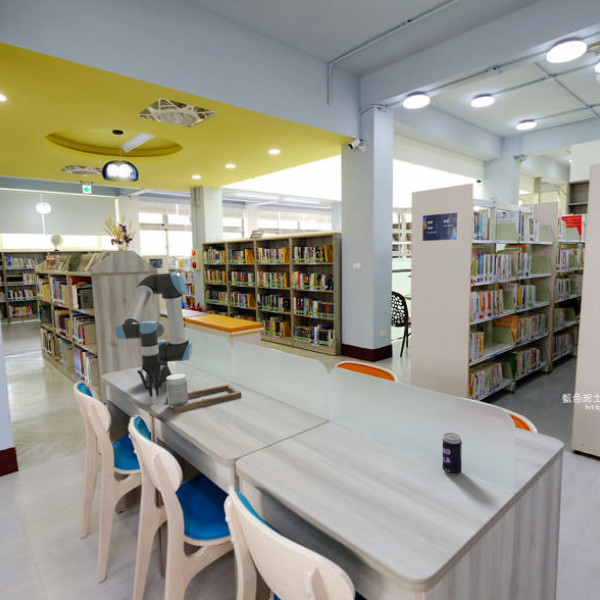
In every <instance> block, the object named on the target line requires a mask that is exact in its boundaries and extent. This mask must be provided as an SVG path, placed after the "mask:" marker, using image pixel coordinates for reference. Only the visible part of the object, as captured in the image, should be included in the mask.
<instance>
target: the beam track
mask: <svg viewBox="0 0 600 600" xmlns="http://www.w3.org/2000/svg"><path fill="white" fill-rule="evenodd" d="M224 391H228V392H230V393H227V394H222V395H218V396H212V397H210V396H209V397H204V398H202V399H199V400H196V401H192V402H191V401H190V402H188V403H187V404H183V403H182V404H180V405H178V406H173V408H172V409H173V410H172V411H173V413H180V412H183V411H188V410H193V409H195V408H201V407H205V406H209V405H213V404H217V403H222V402H225V401H231V400H234V399H239V398H241V397H242V396H243V395H242V392H241V391H240V390H238V389H237V388H236V387H234V386H233V385H231V384H230V383H227V384H222V385H219V386H218V385H217V386H212V387H208V388H204V389H200V388H199V389H193V390H192V391H190V392H188V400H189V399H191V398H198V397H200V396H206V395H210V394H211V395H212V394H214V393H218V392H224ZM165 403H166V404H168V397H167V396H166V397H165Z"/></svg>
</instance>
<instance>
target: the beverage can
mask: <svg viewBox="0 0 600 600" xmlns="http://www.w3.org/2000/svg"><path fill="white" fill-rule="evenodd" d="M462 443H463V442H462V439H461V436H460V435H459V434H457V433H455V432H454V433H453V432H447V433H444V434H443V437H442V470H443V471H444V472H445V473H446V474H447V475H450V476H458V475H459V474H460V473H461V472H462V461H463V460H462V455H463V454H462V453H463V451H462V447H463V444H462Z"/></svg>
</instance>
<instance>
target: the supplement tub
mask: <svg viewBox="0 0 600 600" xmlns="http://www.w3.org/2000/svg"><path fill="white" fill-rule="evenodd" d="M187 382H188V381H187V375H186V374H184V373H176V374H175V373H174V374H172V375H170V376H168V377H166V381H165V385H166V395H167V396H166V397H168V403H167V405H168V408H170V409H173V406H178V405H180V404H182V403H183V404H187V403H189V399H188V393H189V392H188V384H187Z"/></svg>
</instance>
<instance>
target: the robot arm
mask: <svg viewBox="0 0 600 600" xmlns="http://www.w3.org/2000/svg"><path fill="white" fill-rule="evenodd" d="M184 293H186V283H185V279H184V276H182V274H181V273H178V272H176V273H175V272H169V273H167V272H166V273H153V274H149V275H148V276H146V277H144V278H143V279H142V280H141V281H140V282H139V283H137V285H136V288H135V289H134V294H135V295H134V297H133V300H132V302H131V305H130V307H129V309H128V312H127V315H126V316H125V319H124V321H123V323H118V324H117V325H116V326H115V329H114V330H115V331H114V332H115V336H116V338H117V339H119V340H134V339H135V340H136V339H140V348H141V349H140V350H141V355H142V356H141V359H142V360H141V361H142V362H141V363H142V365H141V368H140V369H138V370H136V371H137V374H138V375H139V377H140V380H141V382H142V384H143V387H144V389H145V390H147V391H148V394H149V397H150V398H151V402H152V404H157V396H159V388H161V387H162V386H163V382H166V377H168V376H170V375H173V374H172V371H171V369H170V367H169V362H184V361H190V359H191V357H192V355H193V354H192V352H193V341H191V340H189V337H188V336H187V335H186V329H185V323H184V315H183V307H182V306H183V305H182V298H183V296H184ZM154 295H161V299H162V300H163V299H164V301H165V307H166V308H165V309H166V316H167V322H168V327H169V328H168V330H169V335H170V338H169V339H168V341H167V340H166V339H159V338H160V337H161V336H163V334H164V333H165V331H166V326H165V324H164V323H163V322H162V321H159V320H145V321H142V320H143V317H144V315H145V313H146V310H147V307H148V304H149V303H150V299H152V298H153V296H154ZM144 372H145V373H146V374H145V376H144ZM153 386H154V387H153Z"/></svg>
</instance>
